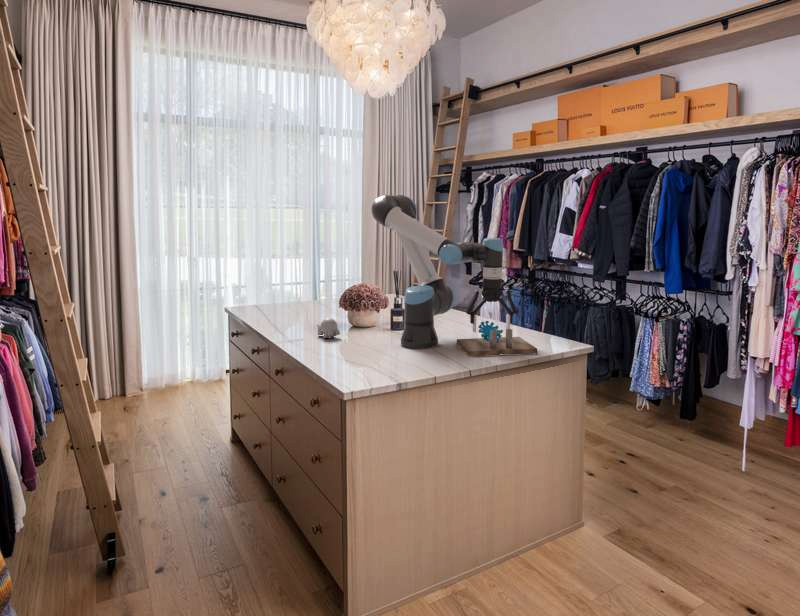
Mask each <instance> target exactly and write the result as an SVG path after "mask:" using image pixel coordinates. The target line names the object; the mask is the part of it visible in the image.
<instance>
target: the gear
mask: <svg viewBox="0 0 800 616" xmlns="http://www.w3.org/2000/svg"><path fill="white" fill-rule="evenodd" d="M489 323H490V324H489ZM477 327H478V333H479V334H480V335H481V338H484V339H486V340H487V341H489V339H490V330H497V341H499V338H501V337H503V335H502V334H503V332H504V329H499V326H498V325H495V322H492V321H491V322H490V321H489V320H485V321H481V322H480V324H479V325H478V326H477Z"/></svg>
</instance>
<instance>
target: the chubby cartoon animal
mask: <svg viewBox="0 0 800 616" xmlns="http://www.w3.org/2000/svg"><path fill="white" fill-rule="evenodd" d="M316 326H317V336H318V335H323V334H324V335H323V339H324V338H328V339H330V338H329V337H333V338H335V337H336V336H338V335H340V334H341V331H340V329H339V328H338V323H337V321H336V320H335V319H333V318H331V317H328V318H327V317H326V318H325V319H323V320H322V321H321V323H320V325H319V324H317V325H316ZM334 336H335V337H334Z"/></svg>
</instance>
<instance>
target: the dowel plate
mask: <svg viewBox="0 0 800 616" xmlns="http://www.w3.org/2000/svg"><path fill="white" fill-rule="evenodd" d="M497 330H498V329H496V330H490V339H489V341H487V340H486V339H484V337H483V338H482V337H480V338H479V337H478V338H456V345H457V344H458V345H459V346H460V347H461V348H462V349H463V350H464V351H463V350H462V349H461V348H460V347H459V346H458V345H457V346H458V347H459V348H460V349H461V350H462V351H463V352H464V353H465V352H466V353H465V354H466V355H467V357H469V356H475V357H487V356H486V355H499V356H501V355H500V354H523V355H530V354H529V353H537V354H538V348H537V347H535V346H534V345H532V344H531V343H529V342H528V341H526V340H525V339H523V338H521V337H520V336H513V328H512V329H511V328H510V329H506V328H505V336H504V337H503V336H501V338H499V341H497V337H498V336H497Z"/></svg>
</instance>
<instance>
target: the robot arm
mask: <svg viewBox="0 0 800 616" xmlns="http://www.w3.org/2000/svg"><path fill="white" fill-rule="evenodd" d="M371 205H372V206H371V214H372V217H373V218H374V220H375V221H376V222H378V223H379V224H380V225H381V226H383V227H385V228H387V229H391V231H392V232H394V233H396V234H397V236H398V239H399V240H400V244H401V245H402V247H403V250H404V252H405V254H406V257H407V259H408V261H409V264H410V266H411V269H412V271H413V273H414V275H415V277H416V280H417V282H418V285H413V286H410V287H408V288H406V290H405V291H404V297H403V301H404V328H403V332H402V335H401V337H400V346H402V348H403V347H404V348H407V349H431V348H435V347H437V346H439V337H438V335H437V332H436V329H435V316H437V315H442V314H446V313H447V312H449V311H450V310H452V309H453V307H454V305H455V303H456V294H455V291H454V289H453V288H452V287H451V286H449V285H448V284H446V281H445V280H444V278H443V277H441V276H439V275H438V274H437V270H436V269H435V266H434V264H433V261H432V260H431V256H430V255H429V253H428V251H430V252H432V254H434V255H436V256H438V257H439V260H440V261H441V262H442V264H444V265H451V266H452V265H453V266H454V265H458V264H463V263H471V262H472V263H482V277H483V279H482V289H481V290H477V289H475V290H474V291H473V296H472V298H471V301H470V303H469V304H468V306H467V308H466V311H465V313H466V314H467V315H468V316H470V317H469V318H470V319H469V320H470V321H469V322H470V324H472V332H473V333H477V315H476V314H477V313H478V312H479V310H481V308H483V306H484V304H486V303H487V302H488V303H492V302H494V303H497V302H499V304H500V305H501V306H502V308H503V309H504V310H505V311H506V317H505V330H506V329H511V324H512V323H513V317H514V315H515V314H518V309H517V307H516V305H515V303H514V300H513V299H512V296H511V290H509V289H505V290H503V279H502V277H503V264H504V263H503V259H504V258H503V256H504V241H503V239H502V238H499V237H498V238H497V237H494V238H493V237H487V238H484V239H483V241H482V242H467V241H463V242H458V243H455V242H454V241H452V240H451V239H450V238H448V237H445V236H444V235H442V234H441V233H439V232H438V231H436V230H434V229H432V228H430V227H429V226H427V225H425V224H424V223H422V222H421V221H418V218H417V213H418V206H417V204H416V202H415V201H414V200H413V198H411V197H410V196H406V195H403V194H402V195H401V194H398V195H392V194H391V195H390V194H389V195H388V194H384V195H380V196H379V197H377V198H375V200H374V201H373V203H372V204H371ZM503 295H504V297H506V300H507V302H508V305H509V306H508V305H507V304H506V302H505V301H504V300H503V298H502V296H503ZM480 296H482V298H481V299H480V301H478V299H479V297H480ZM477 301H478V303H477Z"/></svg>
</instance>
